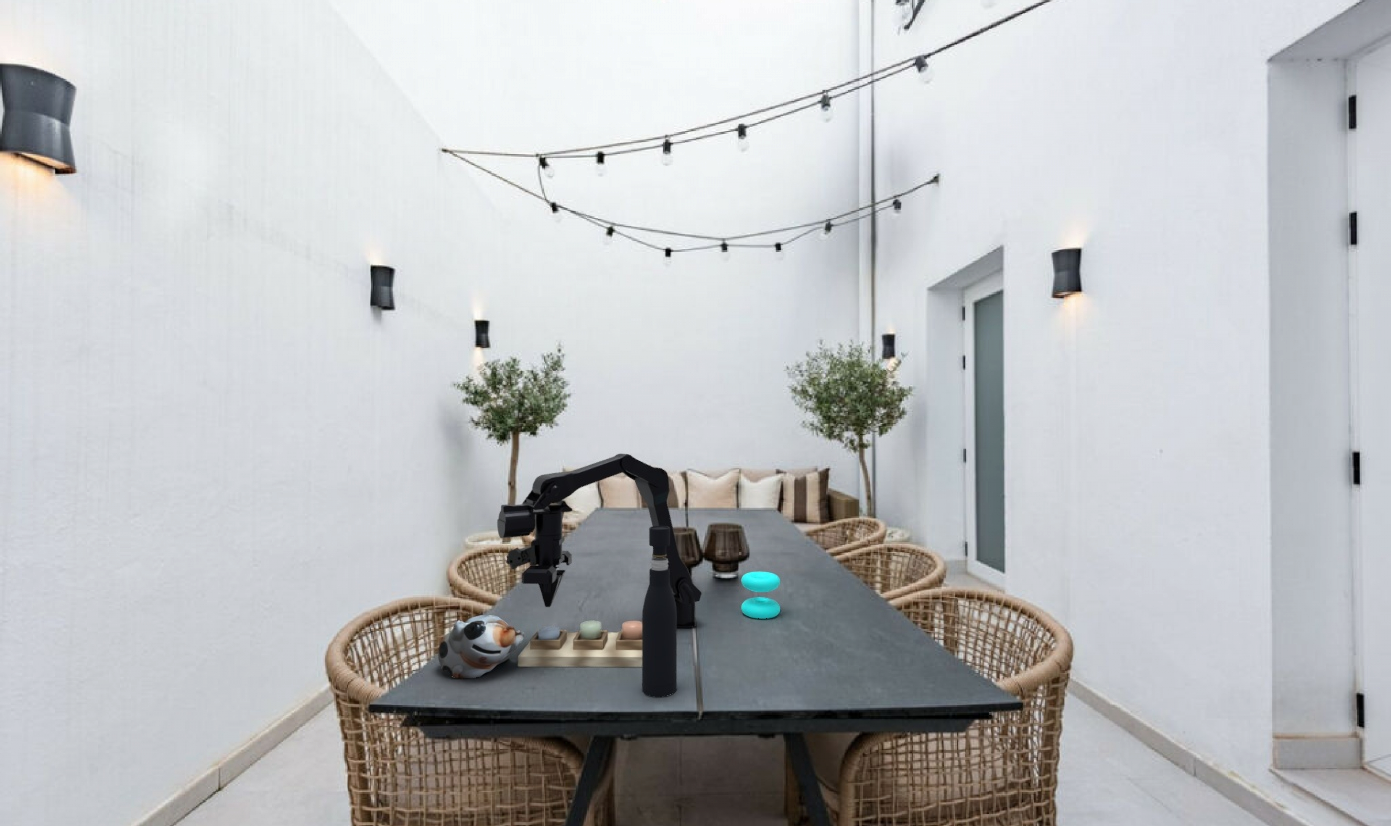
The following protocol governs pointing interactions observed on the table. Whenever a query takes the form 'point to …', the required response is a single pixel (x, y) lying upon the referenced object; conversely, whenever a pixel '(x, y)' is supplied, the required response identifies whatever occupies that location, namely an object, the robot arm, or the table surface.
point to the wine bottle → (659, 622)
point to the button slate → (549, 633)
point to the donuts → (760, 605)
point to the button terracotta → (632, 630)
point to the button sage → (590, 629)
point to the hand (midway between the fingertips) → (548, 606)
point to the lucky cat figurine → (477, 646)
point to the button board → (582, 651)
